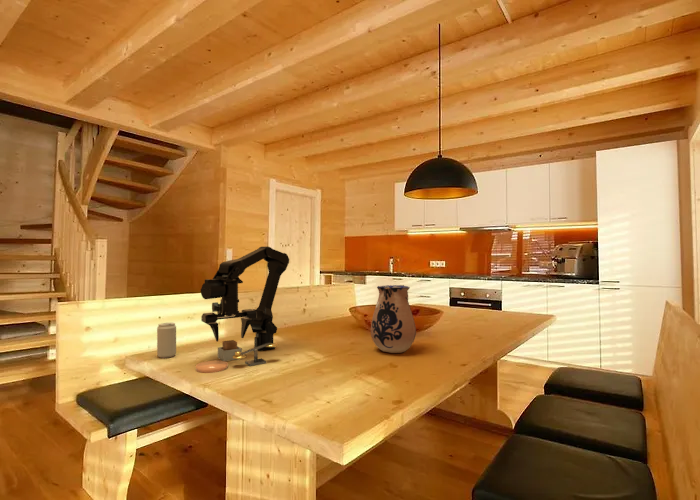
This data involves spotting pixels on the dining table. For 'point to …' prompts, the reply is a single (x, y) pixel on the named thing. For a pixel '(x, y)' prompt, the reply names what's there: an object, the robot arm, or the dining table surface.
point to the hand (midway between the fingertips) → (230, 339)
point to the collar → (227, 353)
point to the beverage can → (166, 340)
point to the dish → (211, 366)
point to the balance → (256, 361)
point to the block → (229, 345)
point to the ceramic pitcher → (393, 320)
